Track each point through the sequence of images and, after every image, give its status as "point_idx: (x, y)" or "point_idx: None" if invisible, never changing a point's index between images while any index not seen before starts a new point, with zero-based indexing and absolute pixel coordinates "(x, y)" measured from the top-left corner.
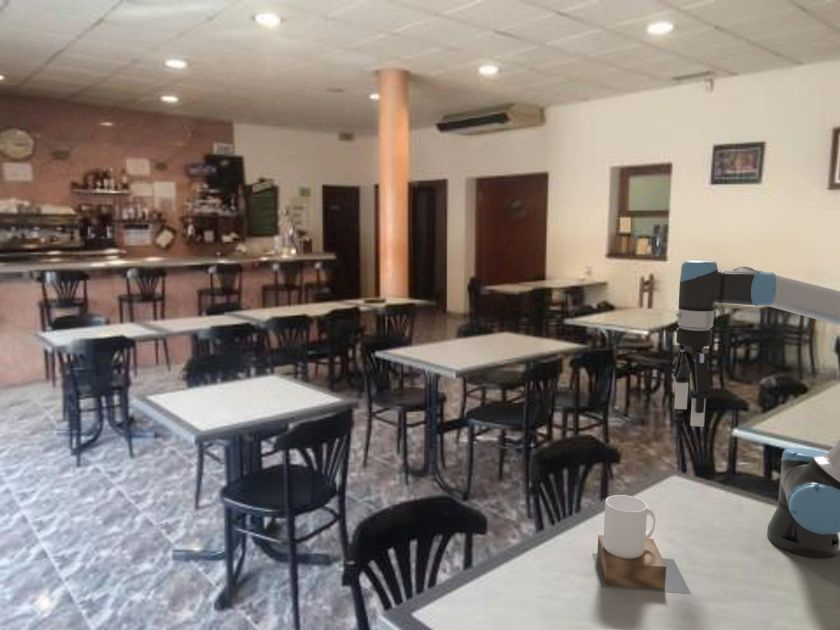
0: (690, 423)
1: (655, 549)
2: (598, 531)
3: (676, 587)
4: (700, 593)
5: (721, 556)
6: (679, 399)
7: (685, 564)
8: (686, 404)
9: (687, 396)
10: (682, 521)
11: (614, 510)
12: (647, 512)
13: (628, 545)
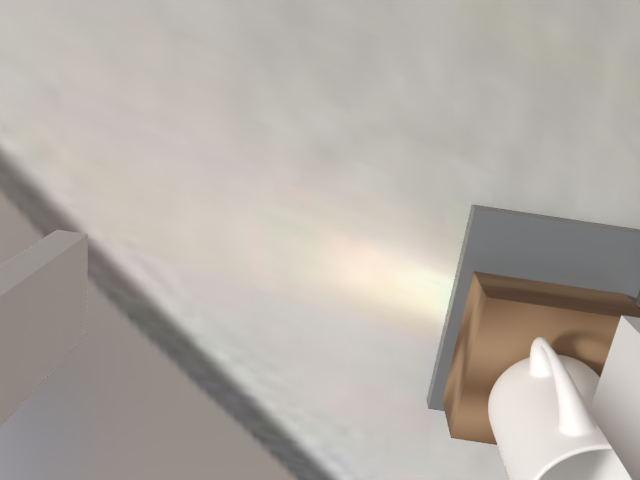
0: (597, 419)
1: (554, 315)
2: (277, 342)
3: (621, 261)
4: (628, 193)
5: (437, 31)
6: (37, 351)
7: (476, 169)
8: (61, 255)
9: (10, 287)
10: (194, 56)
11: None
12: (587, 409)
13: None
